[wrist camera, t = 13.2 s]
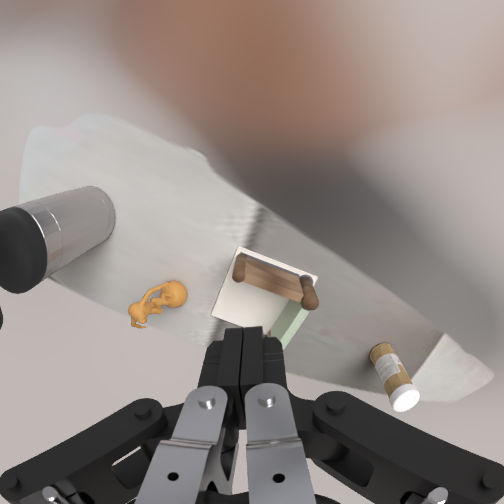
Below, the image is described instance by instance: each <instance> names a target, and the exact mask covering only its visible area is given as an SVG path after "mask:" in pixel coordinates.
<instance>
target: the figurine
mask: <svg viewBox="0 0 504 504" xmlns="http://www.w3.org/2000/svg"><path fill="white" fill-rule="evenodd" d="M161 288H162V289H161ZM160 289H161V295H160V298H155V297H152V298H151V299H150V302H146V301H147V300H148V298H149V296H150V294H152V293H153V292H155V291H158V290H160ZM186 299H187V290H186V288H185V287H184V285H183V284H181V283H180V282H177V281H170V282H165V283H164V284H162V285H160V286H157V287H155V288H152V289H150V290H148V291H147V293H146V294H145V295H144V297H143V298H142V300H141V301H140V302H137V303H133V304H131V305H130V306H129V309H128V312H129V315H130V316H131V319H132V322H131V325H132V326H133V327H137V328H146V327H144V326H143V327H142V326H141V325H137V324H136V321H138V322H139V323H142V324H144V323H145V322H147V319H146V318H147V316H148V315H149V314H161V313H162V309H161V305H167V306H168V307H171V308H177V307H180V306H182V305H183V304H184V303H185V301H186ZM154 305H155V306H154Z"/></svg>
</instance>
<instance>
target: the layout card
mask: <svg viewBox="0 0 504 504" xmlns="http://www.w3.org/2000/svg"><path fill="white" fill-rule="evenodd" d="M241 253H242V254H245V255H246V256H247V257H248V258H250V259H253V260H256V261H258V262H261V263H263V264H266V265H269V266H271V267H274V268H276V269H279V270H282V271H284V272H287V273H290V274H292V275H295V276H297V277H299V279H300V278H301V277H308V278H310V280H311V282H312V285H313V286H314V284H315V282H316V280H317V278H318V277H317V276H315V275H312V274H309V273H307V272H304V271H302V270H299V269H297V268H294V267H291V266H289V265H286V264H284V263H281V262H279V261H276V260H273V259H271V258H268V257H266V256H263V255H260V254H258V253H255V252H253V251H250V250H248V249H245V248H242V247H240V246H238V248H237V251H236V253H235V256H234V258H233V261H232V263H231V266H230V268H229V271H228V273H227V276H226V278H225V281H224V283H223V286H222V288H221V291H220V293H219V296H218V298H217V301H216V304H215V306H214V309H213V311H212V314H211V315H212V316H214V317H217V318H220V319H223V320H225V321H228V322H231V323H234V324H236V325H239V326H242V327H254V326H262V327H263V334H265V335H267V333H268V332H269V331H270V330H271V329H272V327H273V326H274V324H275V323H276V321H277V320H278V318H279V317H280V315H281V313H282V312H283V310H284V309H285V307H286V306H287V304H288V302H289V301H290V299H288V298H285V297H283V296H280V295H277V294H274V293H272V292H269V291H266V290H264V289H261V288H258V287H256V286H253V285H250V284H248V283H245V282H240V283H237V282H235V281H234V280H233V279H232V273H233V269H234V265H235V261H236V257H237V255H238V254H241Z"/></svg>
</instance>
